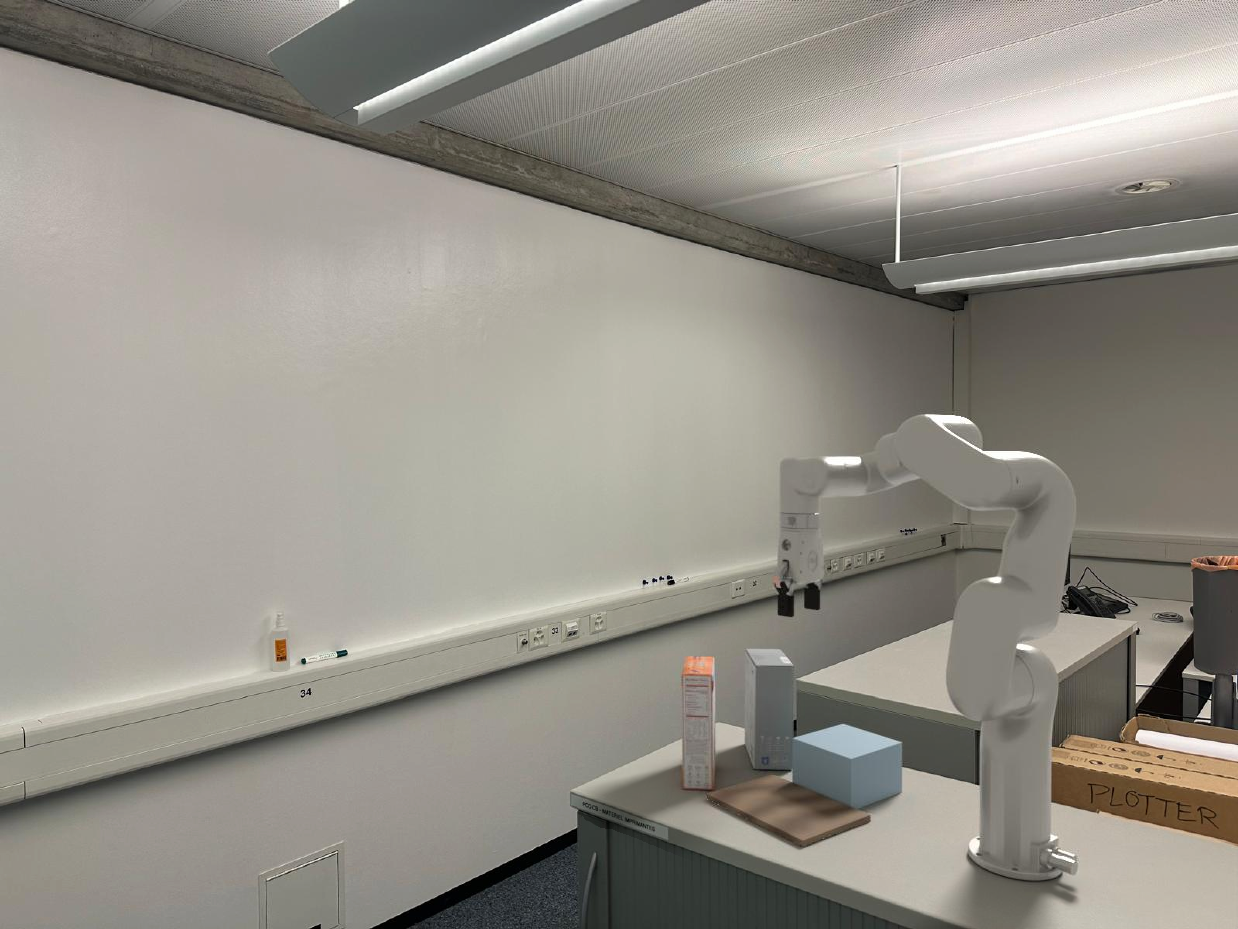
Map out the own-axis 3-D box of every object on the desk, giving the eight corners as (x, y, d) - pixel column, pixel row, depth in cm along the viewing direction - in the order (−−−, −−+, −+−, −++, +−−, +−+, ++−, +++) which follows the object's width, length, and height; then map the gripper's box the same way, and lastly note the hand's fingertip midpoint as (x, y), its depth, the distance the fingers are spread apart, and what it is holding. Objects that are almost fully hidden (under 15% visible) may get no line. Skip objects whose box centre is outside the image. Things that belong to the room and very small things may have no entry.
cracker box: (684, 762, 165) (685, 654, 165) (716, 763, 164) (716, 655, 164) (680, 790, 151) (680, 672, 151) (714, 792, 150) (714, 674, 150)
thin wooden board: (870, 821, 138) (870, 815, 138) (803, 847, 129) (803, 840, 129) (772, 779, 156) (772, 774, 156) (706, 799, 147) (706, 793, 146)
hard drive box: (794, 771, 160) (794, 666, 160) (753, 771, 160) (754, 665, 160) (780, 743, 175) (780, 647, 175) (743, 743, 176) (743, 647, 176)
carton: (901, 793, 150) (902, 742, 150) (851, 812, 142) (851, 759, 142) (842, 771, 161) (843, 723, 161) (792, 788, 152) (792, 738, 152)
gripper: (793, 526, 151) (793, 621, 152) (839, 521, 164) (839, 609, 164) (757, 524, 156) (757, 616, 157) (805, 519, 169) (804, 604, 169)
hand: (799, 612), depth 161 cm, fingers open, 9 cm apart
